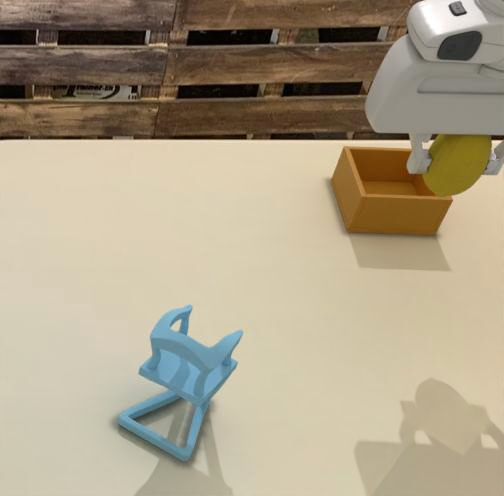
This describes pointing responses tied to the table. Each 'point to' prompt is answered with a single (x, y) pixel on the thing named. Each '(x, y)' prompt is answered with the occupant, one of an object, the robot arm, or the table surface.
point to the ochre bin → (385, 193)
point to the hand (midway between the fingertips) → (450, 171)
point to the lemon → (456, 162)
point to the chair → (181, 376)
